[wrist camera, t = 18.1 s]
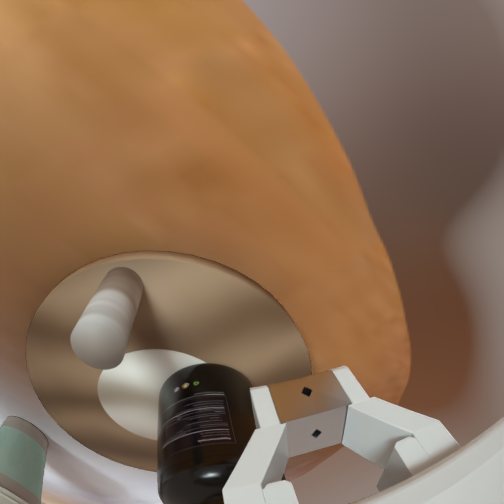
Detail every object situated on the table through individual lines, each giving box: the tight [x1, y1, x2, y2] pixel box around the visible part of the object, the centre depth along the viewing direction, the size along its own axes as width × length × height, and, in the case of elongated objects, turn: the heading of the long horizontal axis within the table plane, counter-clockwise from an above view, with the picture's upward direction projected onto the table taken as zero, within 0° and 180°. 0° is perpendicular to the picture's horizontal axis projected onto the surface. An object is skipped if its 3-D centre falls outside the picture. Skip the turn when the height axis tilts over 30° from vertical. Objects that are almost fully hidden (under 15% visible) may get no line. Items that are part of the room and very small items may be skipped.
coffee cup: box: [0, 416, 48, 504], centre depth 17 cm, size 8×8×12 cm
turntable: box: [26, 251, 312, 472], centre depth 17 cm, size 22×22×8 cm
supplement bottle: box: [157, 363, 286, 504], centre depth 14 cm, size 7×7×12 cm
